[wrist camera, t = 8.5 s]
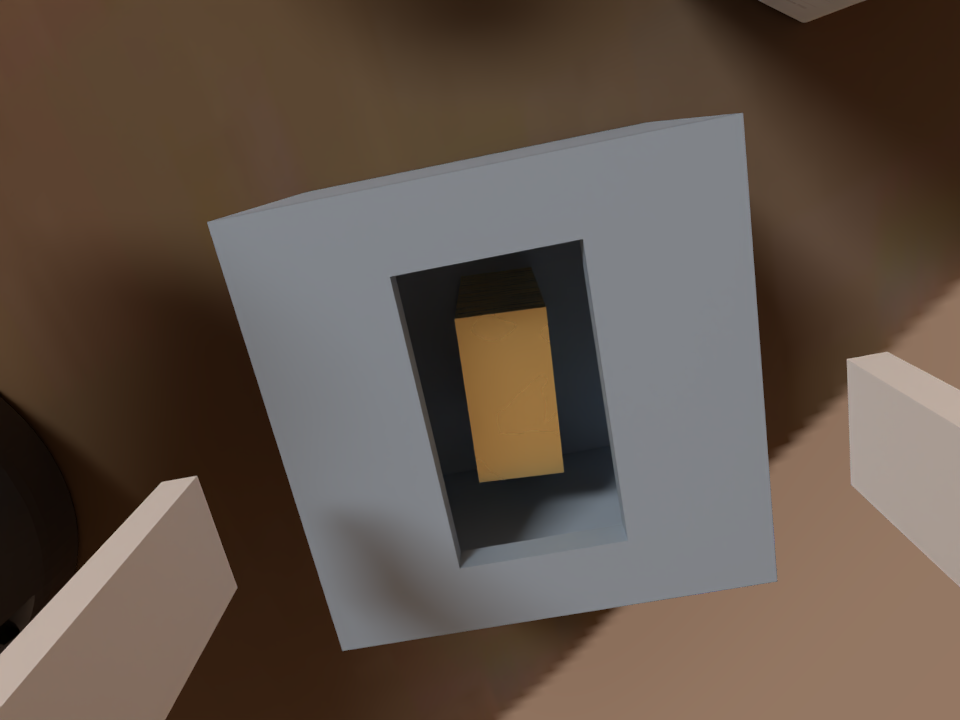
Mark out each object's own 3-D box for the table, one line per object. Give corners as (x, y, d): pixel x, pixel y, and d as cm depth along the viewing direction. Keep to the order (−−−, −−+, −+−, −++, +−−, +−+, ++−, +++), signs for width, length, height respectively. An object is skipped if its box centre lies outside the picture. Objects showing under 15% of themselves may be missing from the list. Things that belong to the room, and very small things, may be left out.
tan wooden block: (480, 406, 26) (479, 482, 20) (461, 276, 24) (454, 319, 19) (546, 398, 26) (563, 472, 20) (531, 267, 24) (546, 306, 18)
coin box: (386, 492, 28) (342, 651, 19) (306, 192, 24) (206, 222, 15) (683, 440, 27) (777, 581, 18) (647, 122, 23) (743, 112, 15)
